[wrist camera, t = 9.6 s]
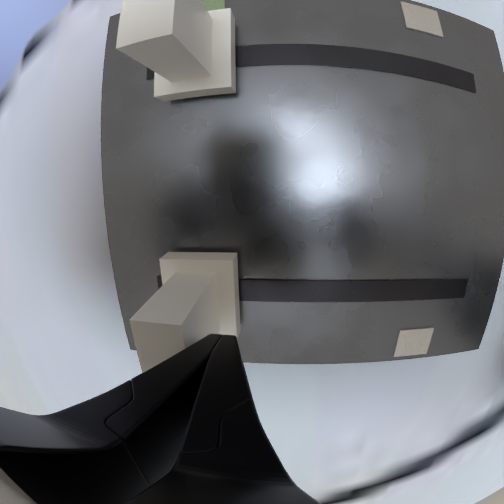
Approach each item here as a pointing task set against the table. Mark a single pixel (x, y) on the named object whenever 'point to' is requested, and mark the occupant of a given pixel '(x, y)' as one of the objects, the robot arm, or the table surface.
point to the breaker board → (321, 178)
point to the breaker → (180, 46)
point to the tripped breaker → (187, 305)
